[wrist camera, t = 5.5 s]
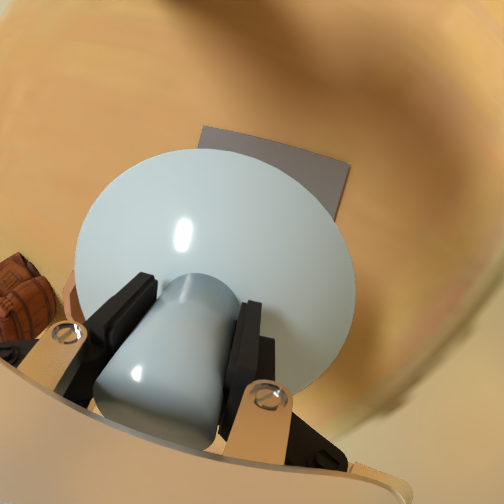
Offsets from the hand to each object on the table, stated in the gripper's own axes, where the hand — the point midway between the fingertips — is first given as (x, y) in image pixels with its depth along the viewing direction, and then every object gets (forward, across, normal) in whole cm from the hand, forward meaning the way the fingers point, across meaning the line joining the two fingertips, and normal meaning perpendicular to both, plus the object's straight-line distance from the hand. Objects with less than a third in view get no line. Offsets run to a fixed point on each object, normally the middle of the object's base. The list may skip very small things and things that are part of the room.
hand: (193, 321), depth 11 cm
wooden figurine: (+18, +28, +15) cm, 36 cm away
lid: (+2, 0, 0) cm, 2 cm away
